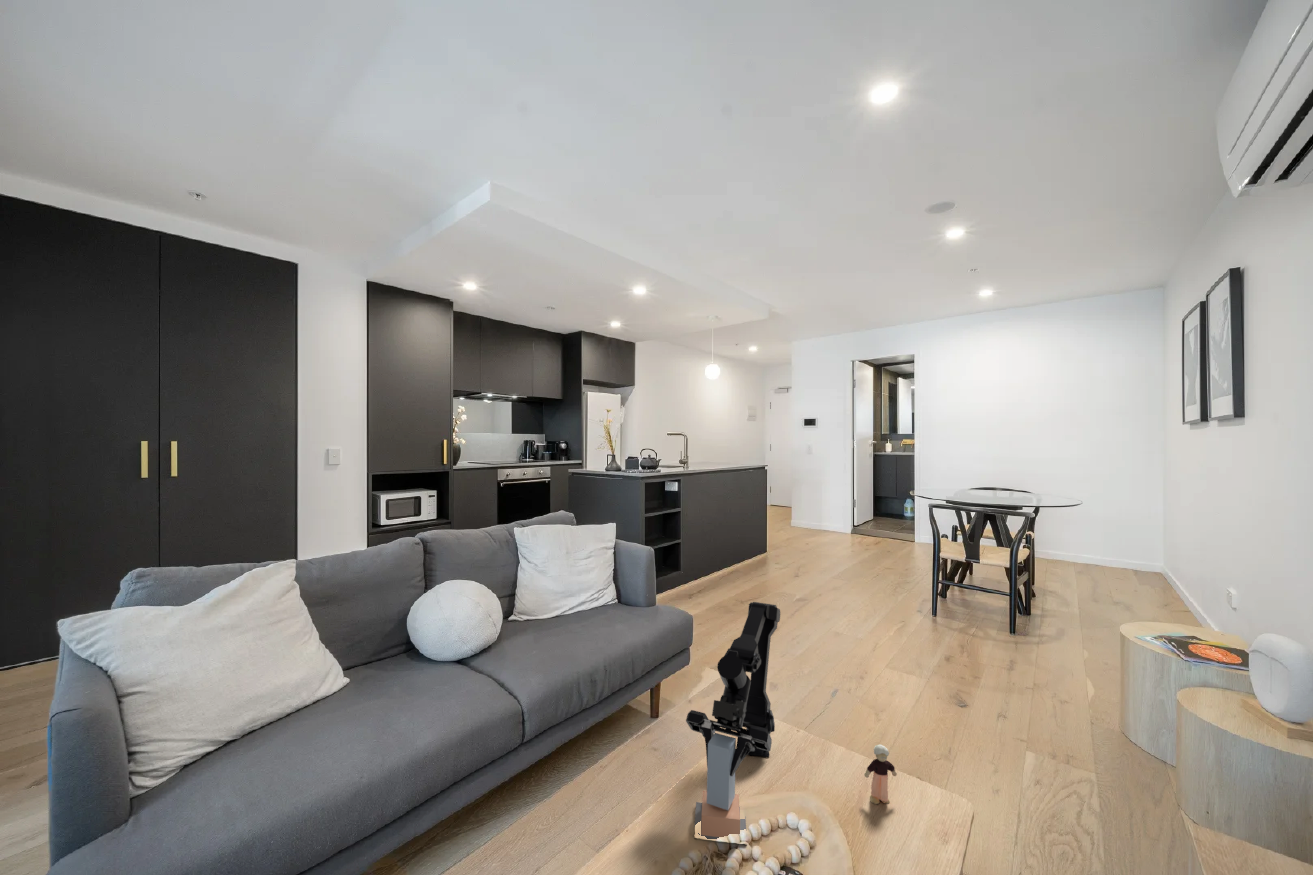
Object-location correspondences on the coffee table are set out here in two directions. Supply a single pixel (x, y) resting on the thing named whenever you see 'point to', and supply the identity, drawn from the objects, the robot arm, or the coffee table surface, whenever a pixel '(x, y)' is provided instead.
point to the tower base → (719, 819)
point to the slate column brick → (720, 771)
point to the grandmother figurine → (880, 775)
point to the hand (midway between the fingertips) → (719, 772)
